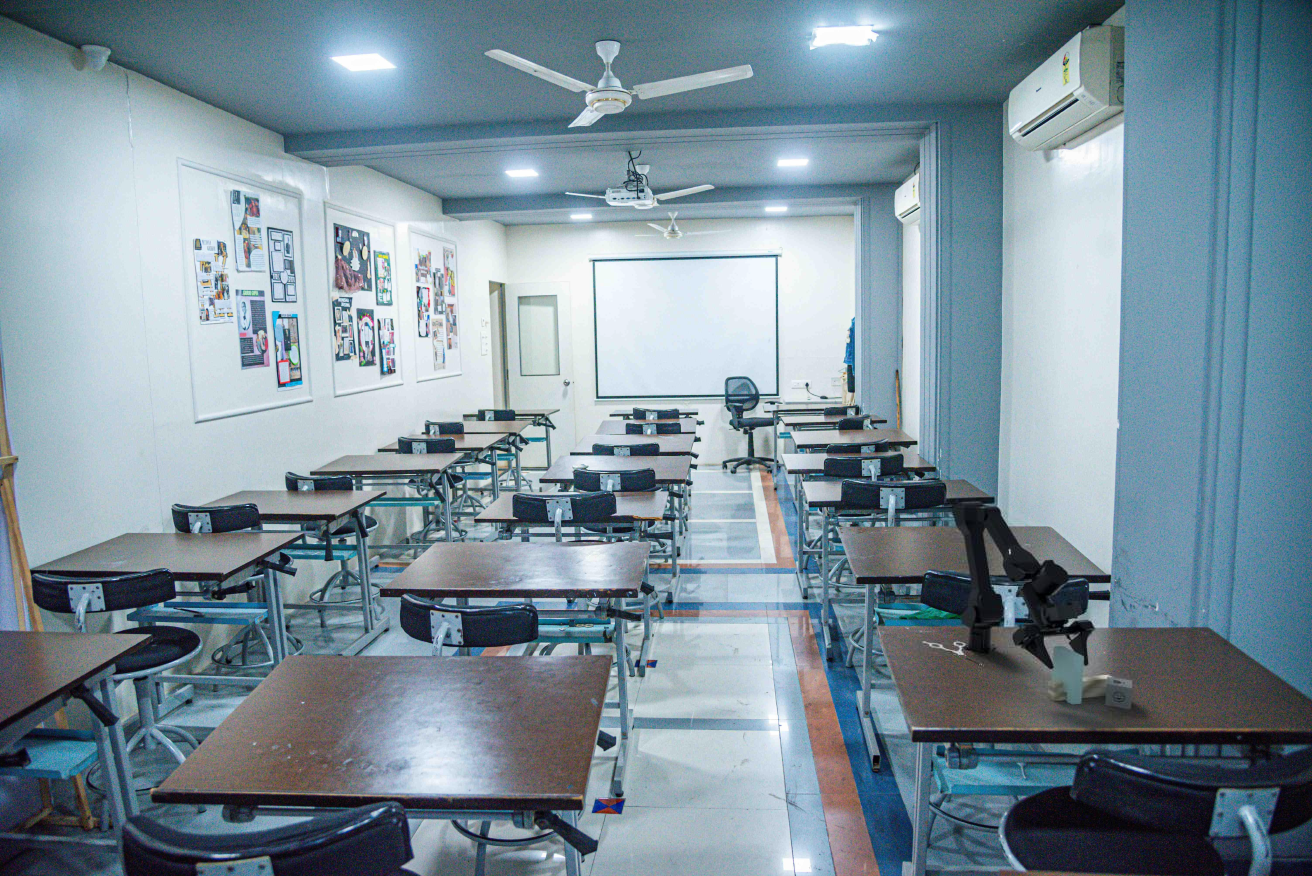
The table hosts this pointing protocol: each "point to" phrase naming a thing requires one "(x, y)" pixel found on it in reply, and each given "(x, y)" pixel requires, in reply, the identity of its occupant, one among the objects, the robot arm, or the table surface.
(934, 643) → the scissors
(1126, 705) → the grey cube
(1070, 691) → the notched plate
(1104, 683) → the cream stepped bar
